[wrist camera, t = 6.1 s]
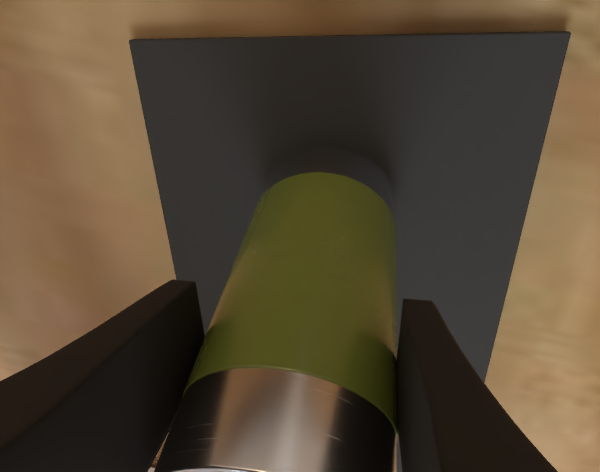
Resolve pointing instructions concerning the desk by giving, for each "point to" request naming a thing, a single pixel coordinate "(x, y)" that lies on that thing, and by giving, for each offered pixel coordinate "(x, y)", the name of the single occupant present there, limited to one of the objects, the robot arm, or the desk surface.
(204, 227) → the mat
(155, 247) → the desk surface
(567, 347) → the desk surface
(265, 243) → the can
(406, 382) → the robot arm
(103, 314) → the desk surface
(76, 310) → the desk surface
